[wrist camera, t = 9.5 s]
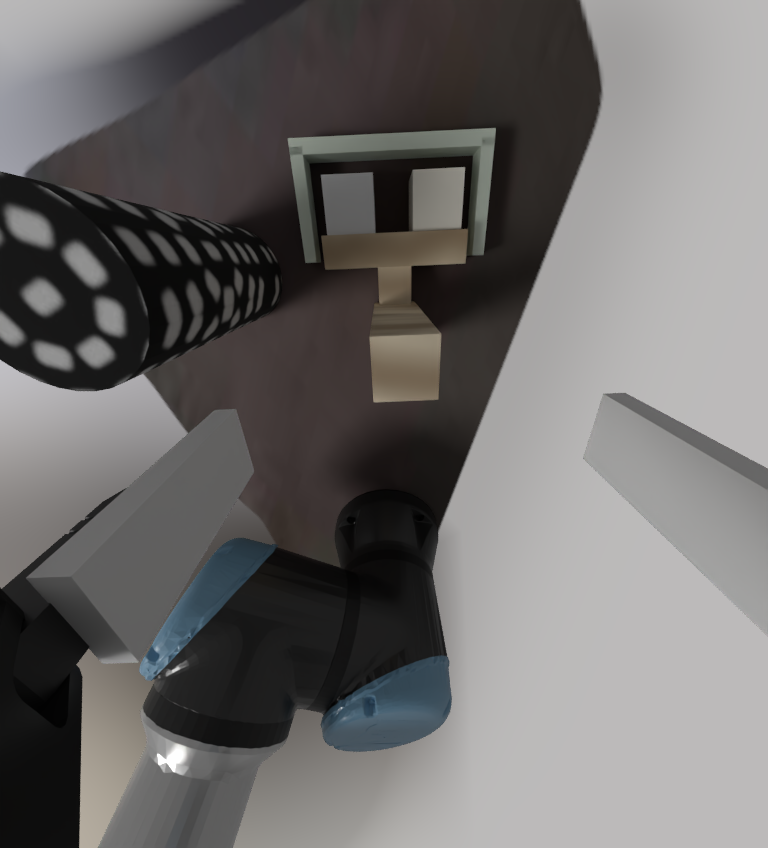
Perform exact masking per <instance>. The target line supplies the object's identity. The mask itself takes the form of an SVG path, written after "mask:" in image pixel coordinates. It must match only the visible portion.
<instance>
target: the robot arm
mask: <svg viewBox="0 0 768 848" xmlns="http://www.w3.org/2000/svg"><path fill="white" fill-rule="evenodd" d="M583 459H584V460H585V461H586V462H587V463H588V464H589V465H590V466H591V467H593V468H594V469H595V470H596V471H597V472H598V473H599V474H600V475H601V476H602V477H603V478H604V479H605V480H606V481H607V482H608V483H609V484H610V485H611V486H612V487H613V488H614V489H615V490H616V491H617V492H618V493H620V494H621V495H622V496H623V497H624V498H625V499H626V500H627V501H628V502H629V503H630V504H631V505H632V506H633V507H634V508H635V509H636V510H637V511H638V512H639V513H640V514H641V515H642V516H643V517H644V518H646V519H647V520H648V521H649V522H650V523H651V524H652V525H653V526H654V527H655V528H656V529H657V530H658V531H659V532H660V533H661V534H662V535H663V536H664V537H665V538H666V539H667V540H668V541H669V542H670V543H671V544H672V545H674V546H675V547H676V548H677V549H678V550H679V551H680V552H681V553H682V554H683V555H684V556H685V557H686V558H687V559H688V560H689V561H690V562H691V563H692V564H693V565H694V566H696V568H697V569H698V570H699V571H701V572H702V573H703V574H704V575H705V576H706V577H707V578H708V579H709V580H710V581H711V582H712V583H713V584H714V585H715V586H716V587H717V588H718V589H719V590H720V591H721V592H722V593H723V594H725V596H727V597H728V598H729V599H730V600H731V601H732V602H733V603H734V604H735V605H736V606H737V607H738V608H739V609H740V610H741V611H742V612H743V613H744V614H745V615H746V616H747V617H748V618H749V619H751V621H752V622H753V623H754V624H756V625H757V626H758V627H759V628H760V629H761V630H762V631H763V632H764V633H765V634H766V635H767V636H768V469H767V468H766V467H764V466H762V465H760V464H758V463H756V462H754V461H752V460H750V459H748V458H747V457H745V456H743V455H741V454H739V453H737V452H735V451H734V450H732V449H730V448H728V447H726V446H724V445H722V444H720V443H718V442H717V441H715V440H713V439H710V438H709V437H707V436H705V435H703V434H701V433H699V432H698V431H696V430H694V429H692V428H690V427H688V426H686V425H685V424H683V423H681V422H679V421H677V420H675V419H673V418H671V417H669V416H668V415H666V414H664V413H662V412H660V411H658V410H656V409H654V408H652V407H650V406H649V405H647V404H645V403H643V402H641V401H639V400H637V399H636V398H634V397H631V396H630V395H628V394H626V393H613V394H603V397H602V400H601V403H600V406H599V409H598V413H597V416H596V419H595V422H594V425H593V429H592V432H591V435H590V438H589V441H588V444H587V447H586V451H585V454H584V457H583ZM253 473H254V469H253V465H252V462H251V458H250V455H249V452H248V448H247V445H246V441H245V438H244V435H243V431H242V428H241V424H240V421H239V417H238V414H237V411H236V409H226V410H214V411H213V412H212V413H211V414H210V415H209V416H208V417H206V418H205V419H204V420H203V421H202V422H201V423H200V424H199V425H197V426H196V427H195V428H194V429H193V430H192V431H191V432H190V433H188V434H187V435H186V436H185V437H184V438H183V439H182V440H181V441H179V442H178V443H177V444H176V445H175V446H174V447H173V448H172V449H170V450H169V451H168V452H167V453H166V454H165V455H164V456H163V457H161V458H160V459H159V460H158V461H157V462H156V463H155V464H154V465H152V467H150V468H149V469H148V470H147V471H146V472H145V473H143V474H142V475H141V476H140V477H139V478H138V479H137V480H136V481H134V482H133V483H132V484H131V485H130V486H129V487H128V488H126V489H124V490H122V491H120V492H119V493H117V494H115V495H114V496H112V497H110V498H109V499H107V500H105V501H103V502H102V503H101V504H100V505H99V506H98V507H96V508H95V509H94V510H93V511H92V512H91V513H89V514H88V515H87V516H86V517H85V520H82V521H80V522H79V523H78V524H77V525H76V526H74V527H73V528H72V529H71V530H70V533H69V534H65V535H64V536H63V537H62V538H60V539H59V540H58V541H57V542H56V543H55V544H53V545H52V546H51V547H50V548H49V549H48V550H47V551H46V552H44V553H43V554H42V555H41V556H39V557H38V558H37V559H36V560H35V561H34V562H33V563H31V564H30V565H29V566H28V567H27V568H26V569H24V570H23V571H22V572H21V573H20V574H19V575H17V576H16V577H15V578H14V579H13V580H12V581H10V582H9V583H8V584H7V585H6V586H5V587H3V588H2V589H1V588H0V848H79V824H80V823H79V822H80V773H81V772H80V771H81V719H82V717H81V716H82V675H81V672H80V669H79V667H78V666H77V665H76V664H77V663H78V662H79V660H80V659H81V658H82V656H83V655H84V654H85V652H86V651H87V650H88V648H89V649H90V650H91V651H92V652H93V653H94V655H95V656H96V657H97V658H98V659H99V660H100V661H101V662H102V663H103V664H106V663H132V662H133V663H135V662H139V661H140V660H141V658H142V656H143V655H144V653H145V651H146V650H147V648H148V646H149V645H150V643H151V641H152V640H153V638H154V637H155V635H156V633H157V632H158V630H159V628H160V627H161V625H162V623H163V622H164V620H165V618H166V617H167V615H168V613H169V612H170V610H171V608H172V607H173V605H174V603H175V602H176V600H177V598H178V597H179V595H180V594H181V592H182V590H183V588H184V587H185V585H186V584H187V582H188V580H189V578H190V577H191V575H192V574H193V572H194V570H195V569H196V567H197V565H198V564H199V562H200V560H201V559H202V557H203V555H204V554H205V552H206V550H207V549H208V547H209V545H210V544H211V542H212V541H213V539H214V537H215V535H216V534H217V532H218V531H219V529H220V527H221V525H222V524H223V522H224V521H225V519H226V517H227V516H228V514H229V512H230V511H231V509H232V507H233V506H234V504H235V502H236V501H237V499H238V498H239V496H240V494H241V493H242V491H243V489H244V488H245V486H246V484H247V483H248V481H249V479H250V478H251V476H252V474H253ZM437 543H438V530H437V525H436V520H435V517H434V514H433V512H432V511H431V509H430V508H429V507H428V506H427V505H426V504H425V503H424V502H423V501H422V500H420V499H418V498H417V497H415V496H413V495H410V494H408V493H404V492H400V491H393V490H381V491H374V492H370V493H366V494H363V495H361V496H359V497H357V498H355V499H353V500H352V501H351V502H349V503H348V504H347V505H346V506H345V507H344V508H343V509H342V511H341V512H340V514H339V516H338V519H337V524H336V530H335V544H336V549H337V553H338V557H339V562H340V566H341V568H339V567H336V566H333V565H330V564H327V563H324V562H321V561H318V560H315V559H311V558H308V557H305V556H302V555H299V554H296V553H293V552H290V551H287V550H284V549H281V548H278V545H276V544H272V545H269V544H265V543H261V542H257V541H254V540H250V539H246V538H235V539H232V540H229V541H227V542H226V543H224V544H223V545H222V546H221V547H220V548H219V549H218V550H217V551H216V552H215V553H214V554H213V555H212V557H211V558H210V559H209V560H208V562H207V563H206V564H205V566H204V567H203V568H202V570H201V571H200V572H199V574H198V575H197V576H196V578H195V579H194V581H193V582H192V583H191V585H190V586H189V588H188V589H187V590H186V592H185V593H184V595H183V596H182V598H181V599H180V601H179V602H178V604H177V605H176V607H175V608H174V610H173V611H172V613H171V614H170V616H169V617H168V619H167V620H166V622H165V623H164V625H163V626H162V628H161V630H160V631H159V633H158V635H157V636H156V638H155V640H154V642H153V644H152V646H151V648H150V649H149V651H148V653H147V654H146V656H145V657H144V659H143V660H142V663H141V665H140V674H141V675H143V676H145V679H146V680H151V681H152V680H153V679H155V682H154V684H153V686H152V688H151V690H150V692H149V694H148V696H147V698H146V700H145V702H144V704H143V706H142V708H141V711H140V716H141V720H142V723H143V727H144V730H145V733H146V737H147V745H146V747H145V749H144V752H143V754H142V756H141V758H140V760H139V762H138V764H137V766H136V768H135V771H134V773H133V775H132V777H131V779H130V781H129V783H128V785H127V787H126V789H125V792H124V794H123V796H122V798H121V800H120V802H119V804H118V806H117V808H116V811H115V813H114V815H113V817H112V819H111V821H110V823H109V825H108V827H107V830H106V832H105V834H104V836H103V838H102V840H101V842H100V844H99V846H98V848H233V845H234V842H235V839H236V835H237V833H238V830H239V826H240V823H241V820H242V817H243V814H244V811H245V808H246V804H247V802H248V798H249V795H250V792H251V789H252V786H253V783H254V780H255V776H256V773H257V770H258V767H259V766H260V765H261V764H262V762H263V761H265V760H266V759H267V758H268V757H270V756H271V755H272V754H273V753H275V752H276V751H277V750H278V749H280V748H281V747H282V746H283V745H284V744H285V742H286V739H287V737H288V734H289V730H290V727H291V724H292V720H293V717H294V713H295V711H296V710H297V709H306V710H311V711H316V712H320V713H322V714H323V715H324V716H323V718H322V722H321V727H322V732H323V738H324V740H325V742H326V743H327V744H328V745H329V746H334V748H335V749H338V750H343V751H354V752H355V751H356V752H361V751H374V750H382V749H388V748H393V747H397V746H401V745H404V744H408V743H411V742H413V741H416V740H419V739H421V738H423V737H425V736H427V735H429V734H431V733H432V732H434V731H435V730H436V729H438V728H439V727H440V726H441V725H442V724H443V723H444V722H445V720H446V719H447V717H448V715H449V712H450V709H451V700H452V697H451V688H450V679H449V669H448V667H449V660H448V657H447V653H446V648H445V642H444V636H443V631H442V625H441V620H440V614H439V608H438V603H437V597H436V592H435V586H434V580H433V574H432V570H433V565H434V559H435V554H436V548H437Z"/></svg>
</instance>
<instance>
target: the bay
mask: <svg viewBox="0 0 768 848" xmlns="http://www.w3.org/2000/svg"><path fill="white" fill-rule="evenodd" d="M495 134H496V128H484V129H465V130H445V131H425V132H405V133H385V134H365V135H345V136H325V137H305V138H288V144H289V151H290V158H291V165H292V172H293V179H294V186H295V193H296V200H297V207H298V214H299V221H300V228H301V235H302V242H303V249H304V256H305V263H318V262H321V256H320V248H319V239H318V231H317V223H316V215H315V206H314V198H313V190H312V181H311V173H310V165H309V164H310V163H330V162H351V161H371V160H391V159H412V158H432V157H452V156H473V162H472V176H471V189H470V203H469V216H468V237H467V251H466V256H472V255H484V246H485V235H486V225H487V215H488V205H489V195H490V185H491V174H492V164H493V154H494V144H495Z"/></svg>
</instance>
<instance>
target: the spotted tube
mask: <svg viewBox="0 0 768 848" xmlns="http://www.w3.org/2000/svg"><path fill="white" fill-rule="evenodd" d="M281 291H282V276H281V271H280V267H279V264H278V262H277V260H276V258H275V256H274V254H273V253H272V251H271V250H270V248H269V247H268V246H267V245H266V244H265V243H264V242H263V241H262V240H261V239H260V238H259V237H257V236H256V235H254V234H253V233H251V232H249V231H247V230H245V229H242V228H237V227H233V226H229V225H225V224H220V223H216V222H212V221H208V220H204V219H199V218H195V217H191V216H187V215H182V214H178V213H174V212H170V211H165V210H161V209H157V208H153V207H148V206H144V205H140V204H136V203H131V202H127V201H123V200H119V199H114V198H110V197H106V196H102V195H98V194H93V193H89V192H85V191H81V190H76V189H72V188H68V187H64V186H59V185H55V184H51V183H47V182H42V181H38V180H34V179H30V178H25V177H21V176H16V175H12V174H8V173H4V172H0V360H2V361H3V362H5V363H7V364H8V365H10V366H11V367H13V368H14V369H16V370H18V371H19V372H21V373H23V374H26V375H28V376H30V377H32V378H34V379H36V380H38V381H40V382H44V383H47V384H50V385H53V386H56V387H59V388H64V389H70V390H75V391H99V390H104V389H109V388H113V387H115V386H117V385H119V384H121V383H123V382H126V381H128V380H130V379H132V378H134V377H136V376H139V375H141V374H143V373H145V372H147V371H149V370H151V369H153V368H156V367H158V366H160V365H162V364H164V363H166V362H168V361H170V360H173V359H175V358H177V357H179V356H181V355H183V354H185V353H187V352H190V351H192V350H194V349H196V348H198V347H200V346H202V345H204V344H207V343H209V342H211V341H213V340H215V339H217V338H219V337H221V336H224V335H226V334H228V333H230V332H232V331H234V330H236V329H238V328H241V327H243V326H245V325H247V324H249V323H251V322H253V321H255V320H257V319H260V318H262V317H264V316H266V315H267V314H268V313H270V312H271V311H272V310H273V309H274V307H275V306H276V305H277V303H278V301H279V299H280V295H281Z"/></svg>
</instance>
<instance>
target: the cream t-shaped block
mask: <svg viewBox="0 0 768 848" xmlns="http://www.w3.org/2000/svg"><path fill="white" fill-rule="evenodd" d="M467 237H468V229H454V230H433V231H412V232H390V233H369V234H347V235H326V236H321V238H322V246H323V255H324V264H325V270H333V269H355V268H377V267H378V282H379V303H375V304H374V311H373V318H372V324H371V331H370V351H371V367H372V384H373V400H374V402H394V401H419V400H438V393H439V371H440V350H441V333H440V332H439V330H438V329H437V328H436V327H435V326H434V324H433V323H432V322H431V321H430V320H429V318H428V317H427V316H426V315H425V314H424V312H423V311H422V310H421V309H420V308H419V306H418V305H417V304H416V303H415V302H414V301H411V266H421V265H443V264H465V263H466V251H467Z"/></svg>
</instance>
